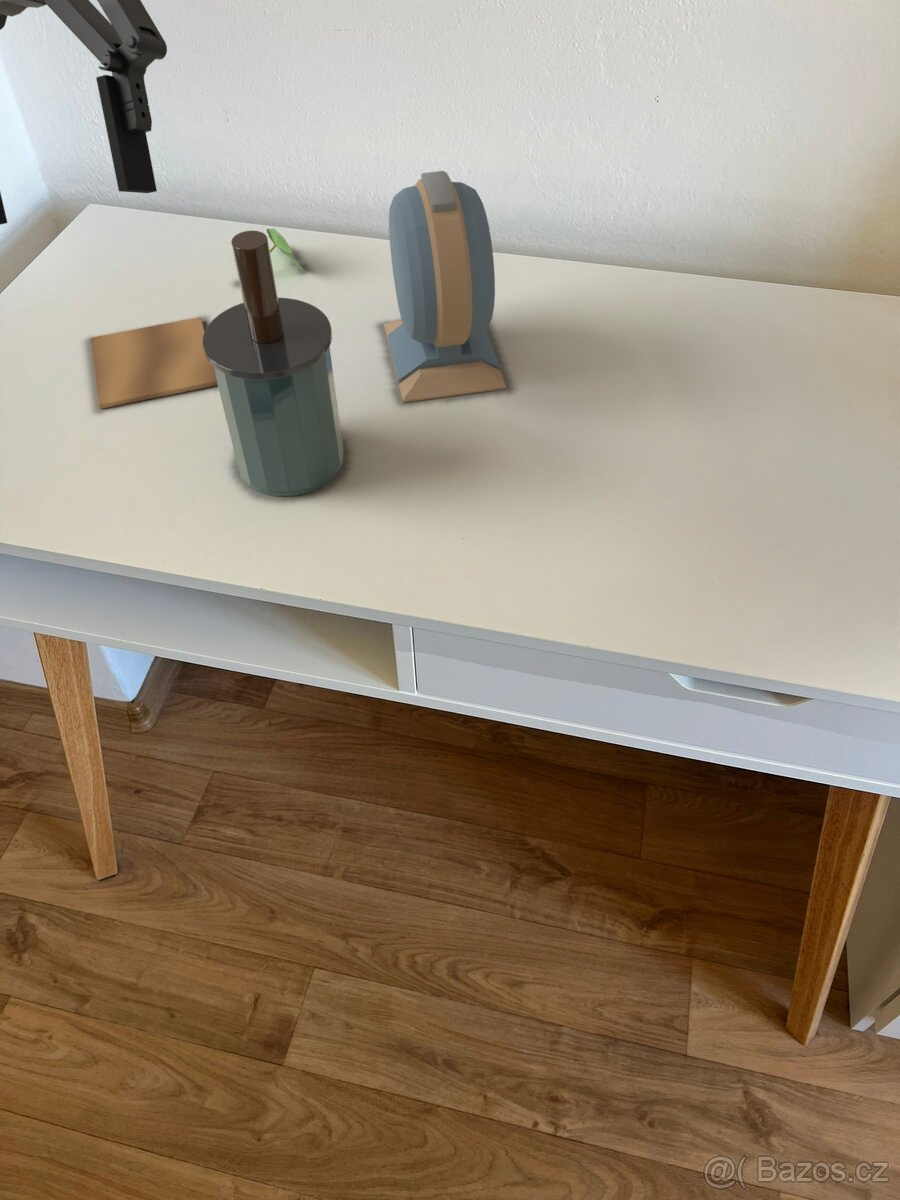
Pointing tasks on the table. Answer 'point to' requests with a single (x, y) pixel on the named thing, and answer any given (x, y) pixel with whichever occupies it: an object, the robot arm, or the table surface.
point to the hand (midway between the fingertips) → (60, 209)
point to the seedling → (280, 243)
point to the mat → (151, 362)
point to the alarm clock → (442, 291)
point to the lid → (264, 322)
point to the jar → (284, 429)
